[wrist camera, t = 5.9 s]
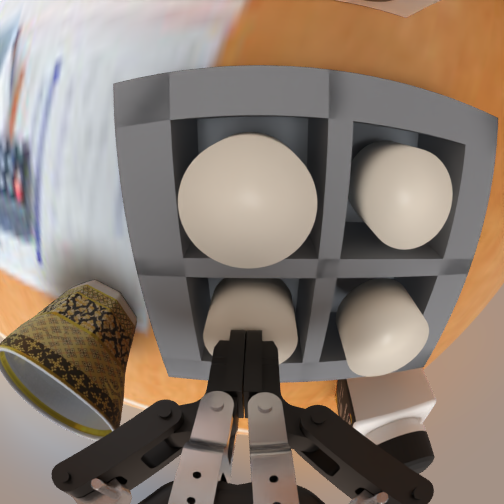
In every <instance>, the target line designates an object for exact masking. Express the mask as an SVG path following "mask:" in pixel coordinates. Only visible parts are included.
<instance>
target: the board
mask: <svg viewBox="0 0 504 504" xmlns="http://www.w3.org/2000/svg"><path fill="white" fill-rule="evenodd" d="M113 91H114V119H115V135H116V147H117V157H118V166H119V175H120V183H121V190H122V197H123V203H124V209H125V215H126V221H127V227H128V232H129V237H130V242H131V247H132V252H133V256H134V261H135V265H136V269H137V274H138V278H139V282H140V286H141V289H142V293H143V297H144V301H145V304H146V308H147V311H148V315H149V318H150V322H151V325H152V328H153V332H154V335H155V338H156V341H157V344H158V347H159V350H160V353H161V356H162V359H163V362H164V364H165V367H166V370H167V373H168V376H169V377H178V378H187V379H198V380H208V379H209V373H210V367H211V362H212V355H211V354H210V353H209V351H208V350H207V348H206V346H205V344H204V340H203V333H204V328H205V324H206V320H207V316H208V312H209V307H210V303H211V299H212V295H213V292H214V290H215V288H216V286H217V285H218V283H219V282H220V281H221V280H223V279H224V278H279V279H281V280H282V281H283V282H284V283H285V284H286V285H287V287H288V288H289V290H290V292H291V295H292V300H293V306H294V313H295V321H296V328H297V335H298V342H297V346H296V349H295V351H294V352H293V354H292V355H291V356H290V357H289V358H288V359H287V360H285V361H284V362H282V363H281V364H279V375H280V382H308V381H325V380H338V379H349V378H358V377H366V376H361V375H358V374H356V373H354V372H353V371H352V370H351V369H350V368H349V366H348V363H347V360H346V356H345V353H344V349H343V346H342V342H341V339H340V335H339V332H338V328H337V325H336V313H337V309H338V307H339V305H340V303H341V302H342V300H343V299H344V298H345V297H346V295H347V294H348V293H349V292H351V291H352V290H353V289H354V288H356V287H357V286H359V285H361V284H363V283H365V282H367V281H370V280H373V279H379V278H388V279H393V280H396V281H398V282H399V283H401V284H402V285H403V286H404V288H405V289H406V291H407V292H408V293H409V295H410V296H411V298H412V299H413V301H414V302H415V304H416V306H417V307H418V309H419V310H420V312H421V313H422V315H423V316H424V318H425V320H426V321H427V323H428V326H429V335H428V339H427V341H426V343H425V345H424V347H423V348H422V350H421V351H420V352H419V354H418V355H417V356H416V357H415V358H414V359H412V360H411V361H410V362H409V363H407V364H406V365H405V366H403V367H401V368H399V369H398V370H395V371H393V372H391V373H394V372H400V371H406V370H411V369H416V368H421V367H424V365H425V364H426V362H427V360H428V359H429V357H430V355H431V353H432V351H433V350H434V348H435V346H436V344H437V342H438V340H439V338H440V336H441V334H442V332H443V330H444V328H445V326H446V324H447V322H448V320H449V318H450V316H451V314H452V311H453V309H454V307H455V305H456V302H457V300H458V298H459V295H460V293H461V290H462V288H463V285H464V283H465V280H466V277H467V275H468V272H469V269H470V266H471V263H472V260H473V257H474V254H475V251H476V248H477V244H478V241H479V238H480V234H481V230H482V226H483V223H484V219H485V214H486V210H487V205H488V201H489V196H490V190H491V185H492V178H493V172H494V164H495V156H496V146H497V132H498V118H497V117H495V116H493V115H491V114H488V113H486V112H484V111H482V110H479V109H477V108H475V107H472V106H470V105H468V104H465V103H463V102H460V101H457V100H455V99H452V98H449V97H446V96H444V95H441V94H438V93H435V92H432V91H428V90H425V89H422V88H418V87H415V86H411V85H408V84H404V83H400V82H396V81H392V80H387V79H383V78H378V77H373V76H368V75H363V74H357V73H351V72H344V71H337V70H329V69H320V68H309V67H295V66H266V65H254V66H224V67H210V68H199V69H190V70H182V71H175V72H168V73H162V74H156V75H151V76H146V77H141V78H136V79H131V80H127V81H123V82H119V83H115V84H113ZM243 132H257V133H263V134H266V135H269V136H272V137H274V138H276V139H278V140H280V141H281V142H283V143H284V144H285V145H286V146H287V147H289V148H290V149H291V150H292V151H293V153H294V154H295V155H296V156H297V157H298V158H299V159H300V160H301V161H302V163H303V164H304V165H305V166H306V168H307V170H308V171H309V173H310V175H311V177H312V179H313V182H314V185H315V189H316V194H317V213H316V218H315V222H314V225H313V227H312V229H311V232H310V234H309V235H308V237H307V238H306V240H305V241H304V243H303V244H302V245H301V246H300V247H299V248H298V249H297V250H296V251H295V252H294V253H292V254H291V255H290V256H288V257H287V258H285V259H283V260H282V261H280V262H277V263H275V264H272V265H269V266H265V267H260V268H237V267H231V266H228V265H225V264H222V263H220V262H217V261H215V260H213V259H212V258H210V257H208V256H207V255H206V254H204V253H203V252H202V251H200V250H199V249H198V248H197V247H196V246H195V245H194V243H193V242H192V241H191V240H190V238H189V237H188V235H187V233H186V232H185V230H184V227H183V225H182V222H181V219H180V216H179V210H178V193H179V188H180V184H181V181H182V178H183V176H184V174H185V172H186V170H187V168H188V167H189V165H190V164H191V163H192V161H193V160H194V159H195V158H196V157H197V156H198V155H199V154H200V153H201V152H203V151H204V150H205V149H207V148H208V147H210V146H211V145H213V144H215V143H217V142H219V141H221V140H223V139H224V138H226V137H228V136H231V135H234V134H238V133H243ZM385 140H386V141H393V142H397V143H401V144H405V145H409V146H412V147H416V148H419V149H423V150H426V151H428V152H430V153H432V154H433V155H435V156H436V157H437V158H438V159H439V160H440V161H441V162H442V163H443V164H444V166H445V167H446V169H447V171H448V173H449V176H450V179H451V183H452V193H453V195H452V205H451V209H450V213H449V215H448V218H447V220H446V222H445V224H444V225H443V227H442V229H441V230H440V231H439V232H438V234H437V235H436V236H435V237H434V238H432V239H431V240H430V241H429V242H427V243H425V244H424V245H422V246H420V247H417V248H413V249H406V250H403V249H396V248H392V247H390V246H388V245H386V244H385V243H383V242H382V241H381V240H380V239H379V238H378V237H377V236H376V235H375V234H374V232H373V231H372V230H371V229H370V228H369V227H368V225H367V224H366V223H365V222H364V221H363V220H362V219H361V218H360V216H359V215H358V214H357V213H356V212H355V211H354V209H353V208H352V206H351V204H350V202H349V199H348V192H349V182H350V170H351V162H352V161H353V159H354V158H355V156H356V155H357V154H358V153H359V152H360V151H361V150H362V149H363V148H364V147H366V146H367V145H369V144H371V143H374V142H377V141H385Z"/></svg>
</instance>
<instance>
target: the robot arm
mask: <svg viewBox="0 0 504 504" xmlns="http://www.w3.org/2000/svg"><path fill="white" fill-rule="evenodd" d="M244 409H245V418H248V425H249V445H250V464H251V481H252V482H251V483H246V484H240V485H234V484H230V481H231V468H232V461H233V455H234V448H235V442H236V436H237V430H238V420H239V418H244ZM291 449H294V450H295V451H296V452H297V453H298V454H299V455H300V456H301V457H302V458H303V459H304V460H305V461H307V462H308V463H309V464H310V465H311V466H312V467H313V468H315V469H316V470H317V471H318V472H319V473H320V474H321V475H323V476H324V477H325V478H326V479H327V480H329V481H330V482H331V483H332V484H334V485H335V486H336V487H337V488H339V489H340V490H341V491H342V492H344V493H345V494H346V495H347V496H349V497H350V498H351V499H352V500H351V501H350V503H349V504H428V503H429V502H430V500H431V499H432V496H433V493H434V489H433V485H432V483H431V482H430V481H429V480H427V479H426V478H424V477H422V476H421V475H419V474H418V473H416V472H415V471H413V470H412V469H410V468H409V467H407V466H406V465H404V464H403V463H401V462H400V461H398V460H397V459H396V458H394V457H393V456H391V455H390V454H388V453H387V452H386V451H384V450H383V449H381V448H380V447H379V446H377V445H376V444H375V443H373V442H372V441H371V440H369V439H368V438H367V437H365V436H364V435H363V434H361V433H360V432H359V431H357V430H356V429H355V428H353V427H352V426H351V425H349V424H348V423H347V422H346V421H344V420H343V419H342V418H341V417H339V416H338V415H337V414H336V413H334V412H333V411H332V410H331V409H329V408H328V407H326V406H322V405H313V406H310V407H308V408H306V409H304V408H299V407H295V406H292V405H290V404H288V403H287V402H286V401H285V400H284V399H283V398H282V396H281V392H280V375H279V359H278V348H277V346H276V345H275V343H274V342H273V341H262V330H247V340H246V330H231V331H230V339H229V340H219V342H218V343H217V344H216V346H215V347H214V350H213V356H212V362H211V367H210V373H209V379H208V385H207V390H206V393H205V395H204V396H203V397H202V398H201V399H200V400H198V401H197V402H194V403H191V404H185V405H178V404H177V403H176V402H174V401H171V400H160V401H157V402H156V403H154V404H153V405H151V406H150V407H148V408H147V409H145V410H144V411H143V412H141V413H139V414H138V415H136V416H135V417H134V418H132V419H131V420H129V421H128V422H126V423H124V424H123V425H121V426H120V427H118V428H117V429H115V430H114V431H112V432H111V433H109V434H107V435H106V436H104V437H103V438H101V439H99V440H98V441H96V442H95V443H93V444H91V445H90V446H88V447H87V448H85V449H83V450H81V451H80V452H78V453H76V454H74V455H73V456H71V457H69V458H68V459H66V460H64V461H62V462H60V463H59V464H57V465H56V466H55V467H54V468H53V470H52V480H53V482H54V484H55V485H56V487H57V488H59V489H60V490H62V491H64V492H66V493H68V494H69V495H71V496H72V497H73V498H74V500H75V501H76V503H77V504H130V502H131V499H132V496H131V492H130V490H131V489H133V488H134V487H136V486H137V485H139V484H140V483H142V482H143V481H145V480H146V479H148V478H149V477H151V476H152V475H153V474H155V473H156V472H158V471H159V470H160V469H162V468H163V467H164V466H166V465H167V464H169V463H170V462H171V461H173V460H174V459H175V458H176V457H178V456H179V455H181V457H180V461H179V465H178V468H177V472H176V476H175V479H174V481H172V482H169V483H167V484H165V485H163V486H161V487H160V488H159V489H157V490H156V491H155V492H154V493H152V494H151V495H149V496H148V497H147V498H146V499H144V500H142V501H141V502H140V503H138V504H325V503H324V502H323V501H321V500H320V499H319V498H318V497H317V496H316V495H315V494H313V493H312V492H310V491H309V490H307V489H305V488H303V487H300V486H298V485H296V478H295V471H294V465H293V458H292V451H291Z"/></svg>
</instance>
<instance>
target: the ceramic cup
mask: <svg viewBox="0 0 504 504" xmlns="http://www.w3.org/2000/svg"><path fill="white" fill-rule="evenodd" d="M136 323H137V319H136V316H135V314H134V313H133V311H132V310H131V308H130V307H129V305H128V304H127V302H126V301H125V299H124V298H123V296H122V295H121V293H120V292H118V291H116V290H114V289H112V288H110V287H108V286H106V285H104V284H102V283H101V282H99V281H97V280H91V281H88V282H85V283H83V284H80V285H77V286H74V287H72V288H71V289H69V290H68V291H67V292H65V293H64V294H63V295H61V296H60V297H59V298H58V299H56V300H55V301H53V302H52V303H51V304H50V305H48V306H47V307H46V308H44V309H43V310H42V311H41V312H39V313H38V314H37V315H36V316H35V317H33V318H31V319H30V320H28V321H27V322H25V323H24V324H22V325H21V326H20V327H18V328H17V329H16V330H15V331H13V332H12V333H11V334H10V335H9V336H7V337H6V338H5V339H4V340H3V341H2V342H1V343H0V371H1V373H2V374H3V376H4V377H5V379H6V380H7V381H8V383H9V384H10V385H11V387H12V388H13V389H14V390H15V391H16V392H17V393H18V394H19V395H20V396H21V397H22V398H23V399H24V400H25V401H26V402H27V403H28V404H29V405H31V406H32V407H33V408H34V409H36V410H37V411H38V412H39V413H41V414H42V415H43V416H45V417H46V418H47V419H49V420H50V421H52V422H54V423H55V424H57V425H59V426H60V427H62V428H64V429H66V430H68V431H70V432H72V433H74V434H76V435H79V436H81V437H84V438H87V439H90V440H94V441H98V440H99V439H101V438H103V437H104V436H106V435H107V434H109V433H111V432H112V431H114V430H115V429H117V428H118V427H119V426H120V421H121V413H122V406H123V399H124V383H125V372H126V366H127V361H128V357H129V352H130V348H131V345H132V341H133V336H134V333H135V328H136Z"/></svg>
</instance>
